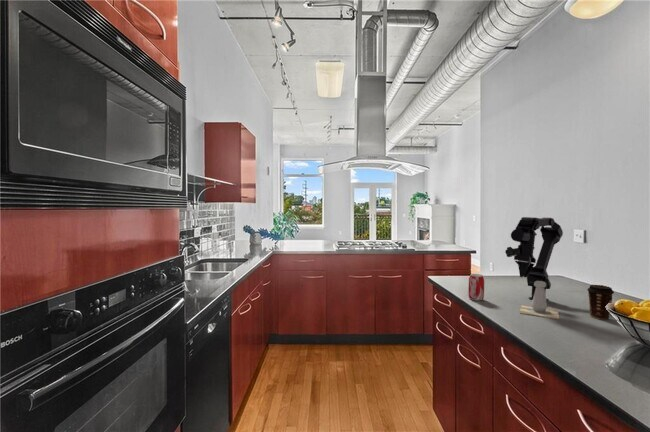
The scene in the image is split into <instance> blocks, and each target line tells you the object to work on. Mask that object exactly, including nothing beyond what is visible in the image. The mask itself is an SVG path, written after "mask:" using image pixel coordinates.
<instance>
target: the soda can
mask: <svg viewBox="0 0 650 432" xmlns="http://www.w3.org/2000/svg"><path fill="white" fill-rule="evenodd" d="M467 291H468V295H467V296H468V298H469V299H470V300H471V301H478V302H481V301H482V300H484V297H485V278H484V275H483V274H480V273H479V274H478V273H470V276H469V277H468V290H467Z"/></svg>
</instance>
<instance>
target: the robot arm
mask: <svg viewBox="0 0 650 432" xmlns="http://www.w3.org/2000/svg"><path fill="white" fill-rule="evenodd" d="M538 229H539V231H540V232H541V238H542V240H543V241H542V242H543V243H542V245H541V248H540V251H539V254H538V257H537V259H536V257H534V250H535V242H536V241H535V240H536V239H535V238H536V236H537V234H538V233H536V230H538ZM563 234H564V232H563V229H562V226H561V225H560V224H559V223H557V222H556V221H555V219H554V218H553V217H541V218H540V217H533V216H532V217H531V216H530V217H529V216H528V217H527V216H523V217H521V218H520V220H519V221H518V223H517V225H516V226H515V229H512V231H511V233H510V238H511V239H512V241H514V242H518V243H519V245H518V246H517V247H515V248H513V247H512V246H508V247H506V249H505V252H504V253H505V254H506V257H507V258H512V257H513V260H514V263H516V265H518V272H519V278H526V282H527V286H528V287H531V296H528V299H530V300H533V297H534V293H535V289H536V286H534V282H535V281H543V282H545V283H546V287H544V289H545V296H546V293H547V291H546V290H550V289H551V286H552V283H551V281H550V279H549V274H548V272H547V268H548V267H549V263H550V259H551V256H552V253H553V251H554V246H555V245H557V244H558V243H559V242H560V240H561V238H562V237H563ZM546 297H547V296H546ZM549 300H550V299H549V298H546V302H547V301H549Z"/></svg>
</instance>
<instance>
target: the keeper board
mask: <svg viewBox="0 0 650 432" xmlns="http://www.w3.org/2000/svg"><path fill="white" fill-rule="evenodd" d="M519 314H520V315H528V316H535V317H541V318H548V319H554V320H560V315H559V310H558V309H555V308H548V307H547V309H546V311H545V312H543V313H542V312H536V311H534V310H533V307H532V305H525V304H521V306H520V310H519Z"/></svg>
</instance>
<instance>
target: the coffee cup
mask: <svg viewBox="0 0 650 432" xmlns="http://www.w3.org/2000/svg"><path fill="white" fill-rule="evenodd" d="M587 293H588V304H589V306H588V307H589V317H590V318H593V319H597V320H609V319H610V312H608V311H607V310H606V308H605V306H606V305H607V304H608V303H613V302H612V301H613V295H614V294H615V292H614V290H613V288H612V287H610V286H607V285H603V284H599V285H598V284H590V285H589V287H588V288H587Z"/></svg>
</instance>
